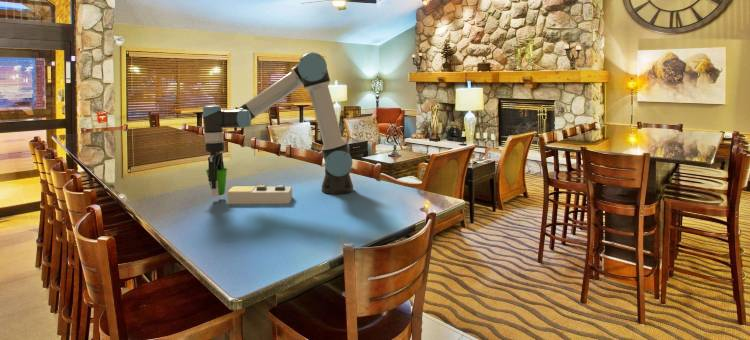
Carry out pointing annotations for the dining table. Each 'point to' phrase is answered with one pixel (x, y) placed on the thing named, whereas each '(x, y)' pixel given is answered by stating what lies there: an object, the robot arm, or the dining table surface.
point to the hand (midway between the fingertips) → (218, 193)
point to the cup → (220, 180)
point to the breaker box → (258, 195)
